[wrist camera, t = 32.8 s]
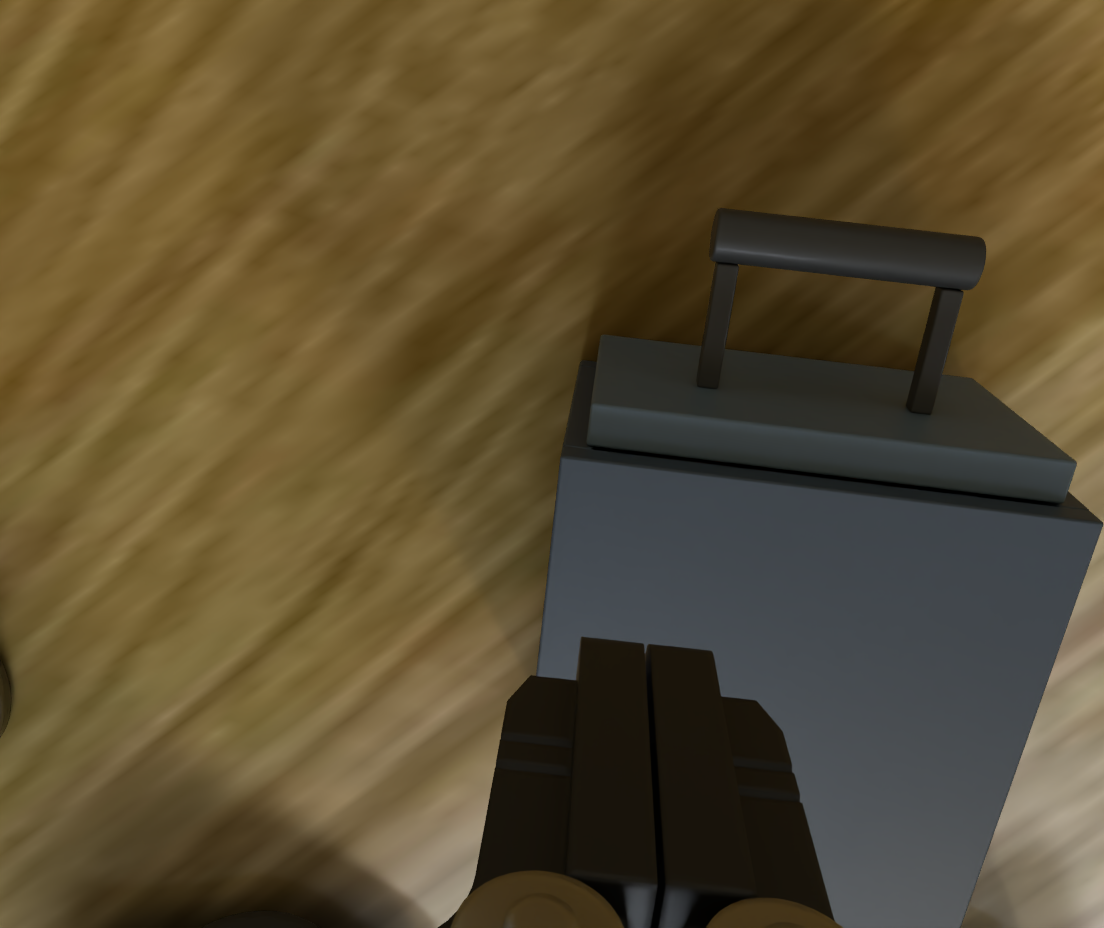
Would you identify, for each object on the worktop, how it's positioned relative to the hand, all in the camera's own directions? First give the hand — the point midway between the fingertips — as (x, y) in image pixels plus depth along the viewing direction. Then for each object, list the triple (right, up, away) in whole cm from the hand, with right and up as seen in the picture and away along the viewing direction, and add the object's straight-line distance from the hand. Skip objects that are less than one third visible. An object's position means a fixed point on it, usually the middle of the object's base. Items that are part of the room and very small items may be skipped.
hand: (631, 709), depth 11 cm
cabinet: (+6, -1, +24) cm, 25 cm away
